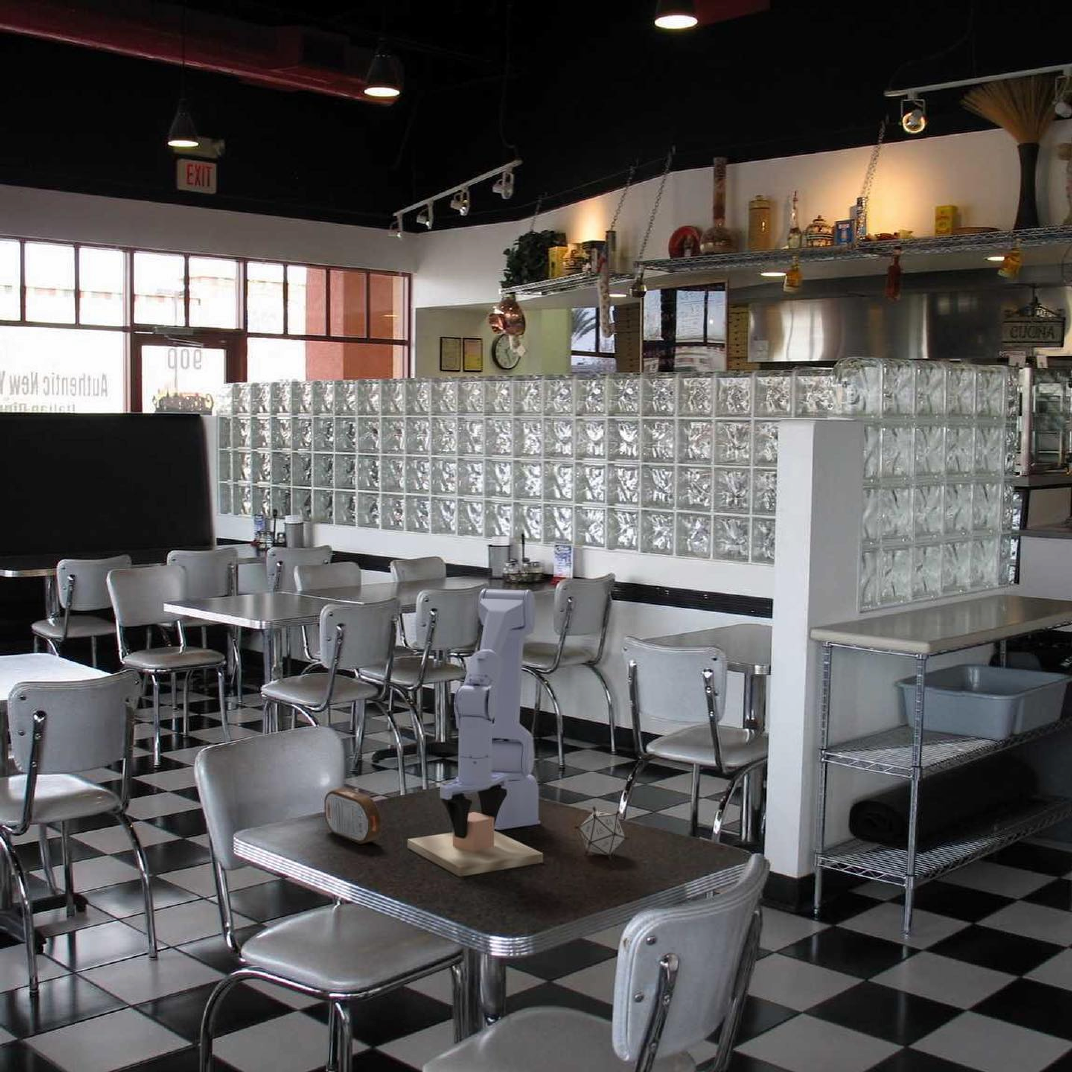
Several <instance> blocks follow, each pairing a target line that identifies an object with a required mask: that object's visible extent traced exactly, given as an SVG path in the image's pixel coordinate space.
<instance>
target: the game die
mask: <svg viewBox="0 0 1072 1072" xmlns="http://www.w3.org/2000/svg"><path fill="white" fill-rule="evenodd" d="M592 811H593V812H592V813H590V815H589V816H587V817H586V819H585V820H584V821H583V822H582V823H581V824H580V825H579V826H578V825H574V826H573V828H574V829H576V830H578V831H579V834H580V836H581V839H582V842H583V845H584V847H585V851H584V854H583V856H587V854H588V853H592V854H599V855H605V856H607V857H608V860H610V861H612V854H613V853H614V852H615V850H616V849H618V848H619V846H620V845H621V844H622V842H623V841H625V840H627V841H628V840H630V839H631V837H630V836H626V834H625V832H624V830H623V827H622V823H621V822H620V819H619V816H618V815H620V814H621V810H617V811H616V812H615V813H613V812H612V813H611V812H609V811H608V812H607V811H602V810H601V811H600V810H597V808H596V807H595V806H594V805H593V806H592Z"/></svg>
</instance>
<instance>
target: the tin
mask: <svg viewBox="0 0 1072 1072" xmlns="http://www.w3.org/2000/svg"><path fill="white" fill-rule="evenodd" d="M378 807H379V806H378V805H377V802H375V800H374V798H372V797H371V796H369V795H368V794H367V795H366V794H364V793H362V792H358V791H355V790H353V789H350V788H347V787H343V786H342V787H339V788H337V789H333V790H330V791H328V792H327V794H326V795H325V796H324V808H323V809H324V817H325V821H326V824H327V826H328V828H329V829H330V831H331V832H332V833H333V834H335V835H337V836H340V837H342V838H344V839H347V840H349V841H352V842H355V843H357V844H360V845H361V844H362V845H364V844H367V843H371V842H372V843H373V842H375V841H377V840H378V839H379V838H380V835H381V833H382V832H381V831H382V816H381V812H380V809H379V808H378Z"/></svg>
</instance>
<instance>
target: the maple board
mask: <svg viewBox="0 0 1072 1072" xmlns="http://www.w3.org/2000/svg"><path fill="white" fill-rule="evenodd" d="M407 849H409V850H411V851H413V852H414V853H416V854H418V855H420V856H421V857H423V858H425V859H427V860H429V861H431V862H433V863H434V864H436V865H438V866H440V867H441V868H443V869H445V870H447V871H448V872H451V873H453V874H454V875H455V876H458V877H459V878H460V877H465V876H471V875H472V876H473V875H476V874H484V873H488V872H494V871H501V870H507V869H511V868H517V867H524V866H530V865H535V864H541V863H544V853H543V852H541V851H538V850H537V849H534V848H533V847H530V846H528V845H526V844H523V843H521V842H520V841H517V840H515V839H513V838H511V837H508V836H506V835H505V834H502V833H501V832H498V831H495V830H494V846H492V847H489V848H485V849H482V850H478V851H474V852H472V851H468V850H465V849H461V848H458V847H455V846H453V832H447V833H441V834H433V835H427V836H426V835H425V836H420V837H413V838H408V839H407Z"/></svg>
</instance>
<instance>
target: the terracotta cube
mask: <svg viewBox="0 0 1072 1072" xmlns="http://www.w3.org/2000/svg"><path fill="white" fill-rule="evenodd" d="M494 831H495V829H494V817H491V816H487V815H484V814H481V812H475V811H473V812H469V814H468V821H467V835H466V838H464V839H462V838H458V837H455V834H454V830H453V829H452V833H453V846H455V847H458V848H461V849H465V850H468V851H472V852H474V851H478V850H482V849H485V848H489V847H492V846H494Z"/></svg>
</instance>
